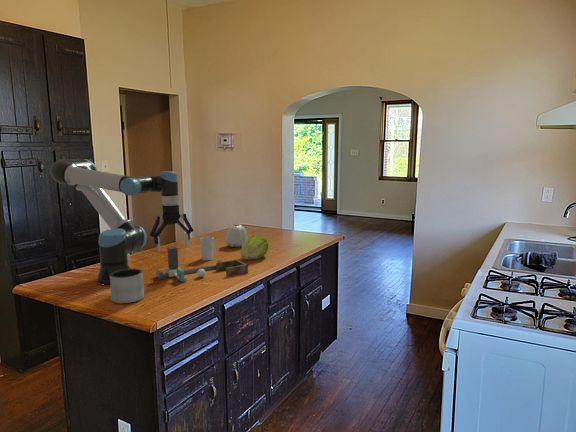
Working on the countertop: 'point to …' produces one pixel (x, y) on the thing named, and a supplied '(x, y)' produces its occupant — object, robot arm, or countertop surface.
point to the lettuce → (254, 247)
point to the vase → (236, 236)
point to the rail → (185, 271)
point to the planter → (127, 285)
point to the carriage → (174, 265)
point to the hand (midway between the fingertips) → (173, 248)
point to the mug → (207, 248)
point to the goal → (232, 267)
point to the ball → (201, 272)
